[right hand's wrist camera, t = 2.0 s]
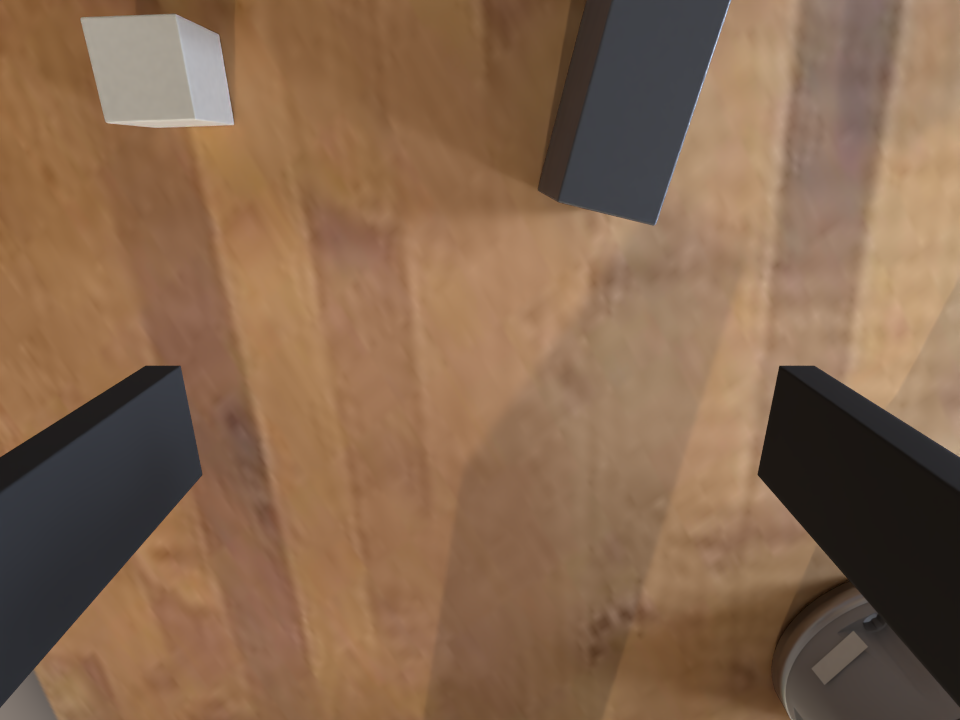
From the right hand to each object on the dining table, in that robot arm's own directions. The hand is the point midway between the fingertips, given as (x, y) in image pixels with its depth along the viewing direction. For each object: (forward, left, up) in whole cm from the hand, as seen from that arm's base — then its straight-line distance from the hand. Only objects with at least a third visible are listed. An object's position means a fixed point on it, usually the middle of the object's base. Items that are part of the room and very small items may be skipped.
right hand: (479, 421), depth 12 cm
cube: (+16, -5, -19) cm, 25 cm away
